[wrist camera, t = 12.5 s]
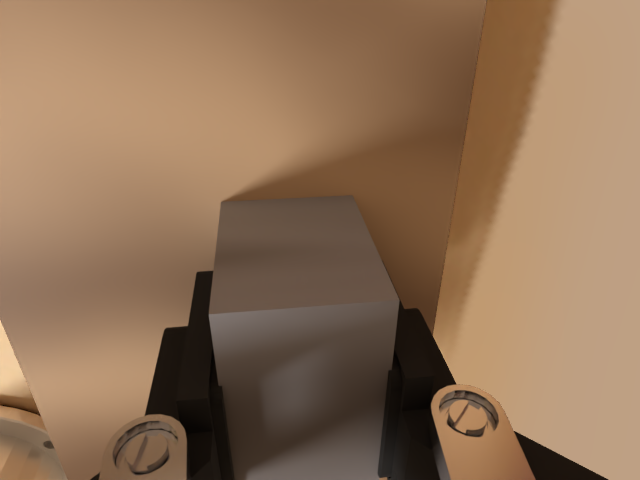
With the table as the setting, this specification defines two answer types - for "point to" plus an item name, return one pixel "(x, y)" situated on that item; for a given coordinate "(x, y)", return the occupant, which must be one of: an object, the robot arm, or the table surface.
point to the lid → (228, 208)
